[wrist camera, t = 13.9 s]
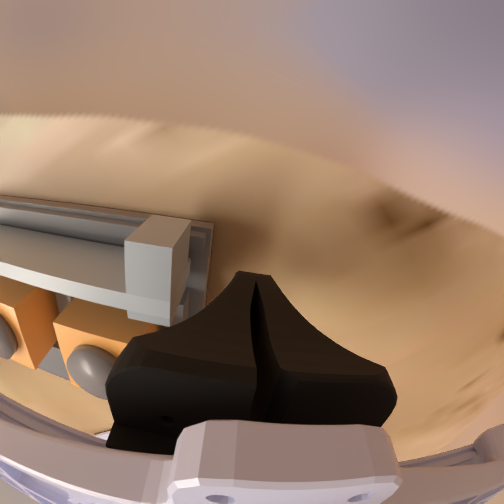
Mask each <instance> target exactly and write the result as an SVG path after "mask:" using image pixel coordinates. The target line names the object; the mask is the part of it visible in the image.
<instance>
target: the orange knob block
mask: <svg viewBox="0 0 504 504" xmlns="http://www.w3.org/2000/svg"><path fill="white" fill-rule="evenodd" d="M58 315H59V310H58V305H57V300H56V295H55V292H53V291H50V290H46V289H43V288H40V287H36V286H33V285H30V284H27V283H23V282H20V281H17V280H14V279H11V278H8V277H5V276H2V275H0V357H2V358H5V359H12V360H14V361H17V362H19V363H21V364H23V365H25V366H27V367H29V368H32V369H34V370H36V369H37V367H38V366H39V364H40V363H41V362H42V360H43V359H44V358H45V356H46V355H47V353H48V352H49V351H50V349H51V348H52V347H53V345H54V344H55V343H56V341H57V336H56V333H55V329H54V325H53V321H54V320H55V319H56V318H57V317H58Z"/></svg>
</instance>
